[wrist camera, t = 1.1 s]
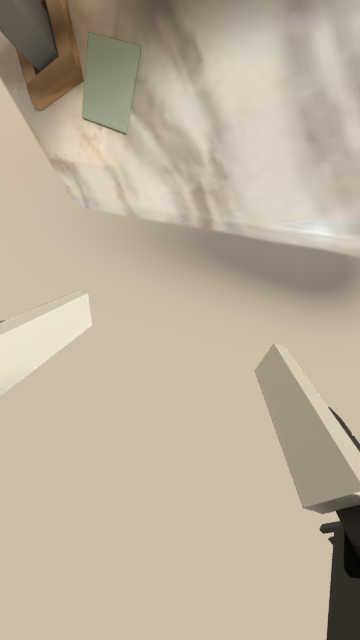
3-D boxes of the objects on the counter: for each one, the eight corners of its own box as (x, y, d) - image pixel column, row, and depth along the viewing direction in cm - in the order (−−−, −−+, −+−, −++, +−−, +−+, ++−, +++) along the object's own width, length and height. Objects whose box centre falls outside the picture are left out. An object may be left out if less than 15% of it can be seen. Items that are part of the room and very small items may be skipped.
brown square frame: (15, 21, 27) (4, 8, 26) (60, -28, 23) (50, -46, 22) (40, 110, 31) (32, 103, 29) (83, 80, 27) (75, 70, 26)
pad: (90, 35, 25) (88, 31, 24) (140, 49, 23) (139, 45, 23) (83, 118, 29) (82, 116, 28) (126, 134, 28) (125, 132, 27)
